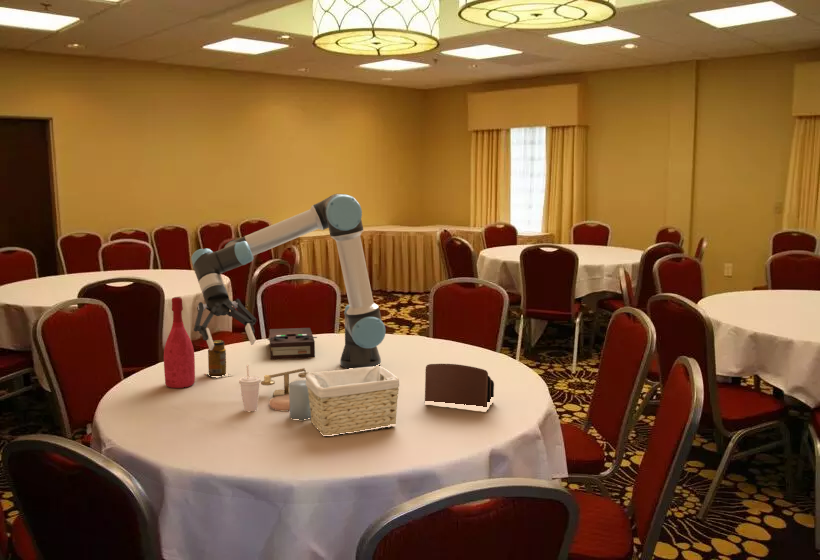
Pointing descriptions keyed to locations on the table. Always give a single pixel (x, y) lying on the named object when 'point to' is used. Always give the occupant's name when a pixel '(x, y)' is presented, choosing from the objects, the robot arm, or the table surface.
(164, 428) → the table surface
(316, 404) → the storage basket
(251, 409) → the smoothie
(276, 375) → the balance
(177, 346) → the wine bottle
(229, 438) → the table surface
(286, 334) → the dark electronic device
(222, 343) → the condiment
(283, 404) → the dish
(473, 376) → the toaster
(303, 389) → the grey domed cylinder
